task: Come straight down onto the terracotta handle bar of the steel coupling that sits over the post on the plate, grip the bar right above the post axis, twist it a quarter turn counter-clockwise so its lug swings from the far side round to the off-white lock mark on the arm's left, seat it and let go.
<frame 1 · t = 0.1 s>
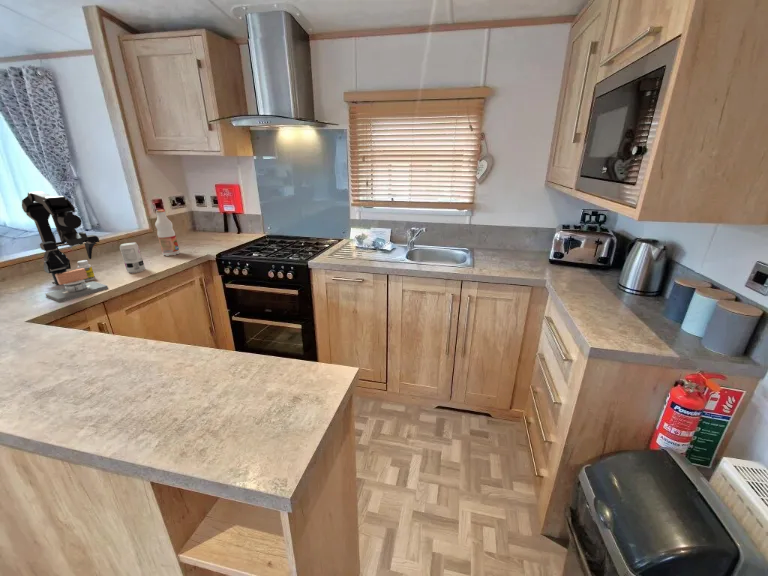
hand: (77, 261, 149), 15 cm above the worktop, tool pointing down, fingers open, 9 cm apart
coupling: (80, 290, 151), point 2 cm above the worktop, touching post plate
fruit juice: (171, 254, 215), on the worktop
post plate: (78, 292, 154), on the worktop
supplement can: (136, 271, 183), on the worktop
supplement bottle: (88, 279, 171), on the worktop
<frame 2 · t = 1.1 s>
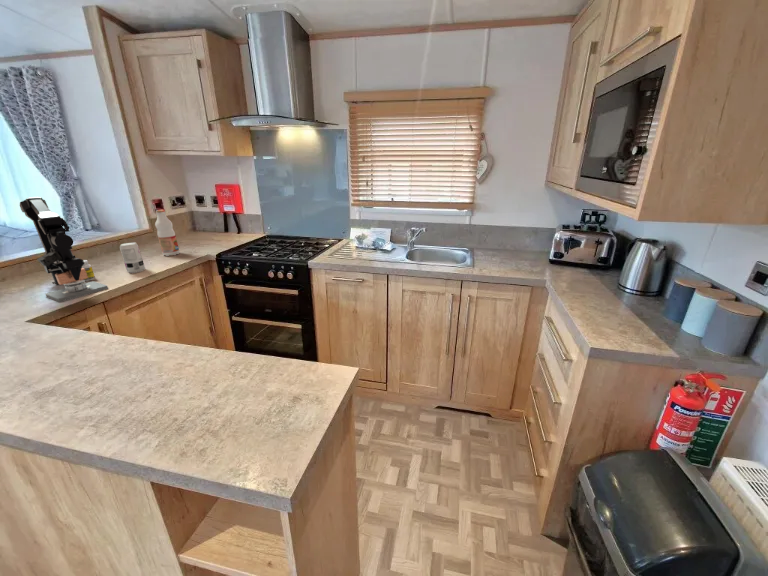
hand: (72, 278, 151), 7 cm above the worktop, tool pointing down, fingers open, 8 cm apart
nothing on the worktop moved.
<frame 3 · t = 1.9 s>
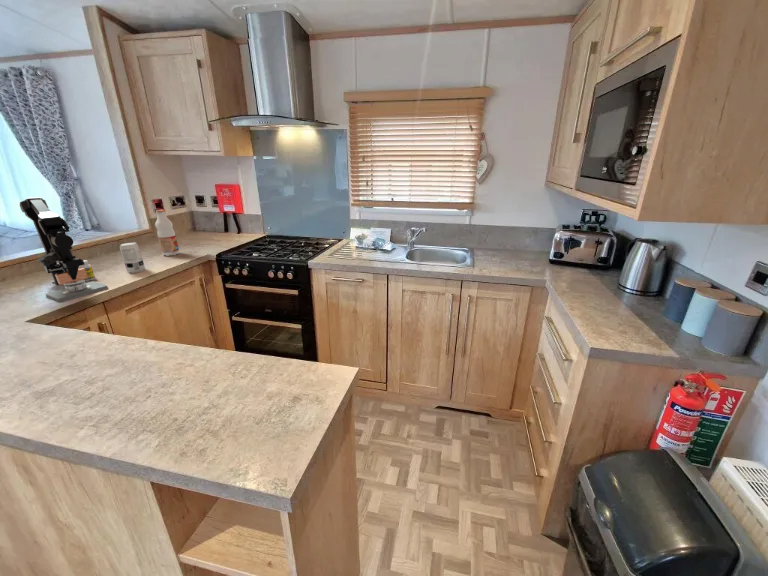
hand: (73, 279, 151), 7 cm above the worktop, tool pointing down, fingers closed on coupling, 2 cm apart
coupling: (80, 290, 151), point 2 cm above the worktop, touching gripper, post plate
everything else where it was.
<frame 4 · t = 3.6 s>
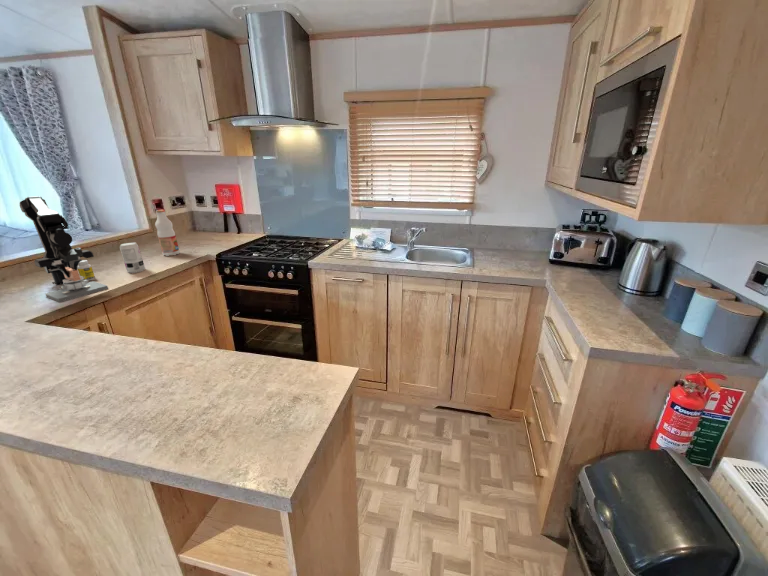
hand: (72, 276, 151), 8 cm above the worktop, tool pointing down, fingers closed on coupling, 2 cm apart
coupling: (86, 284, 156), point 3 cm above the worktop, touching gripper
everything else where it was.
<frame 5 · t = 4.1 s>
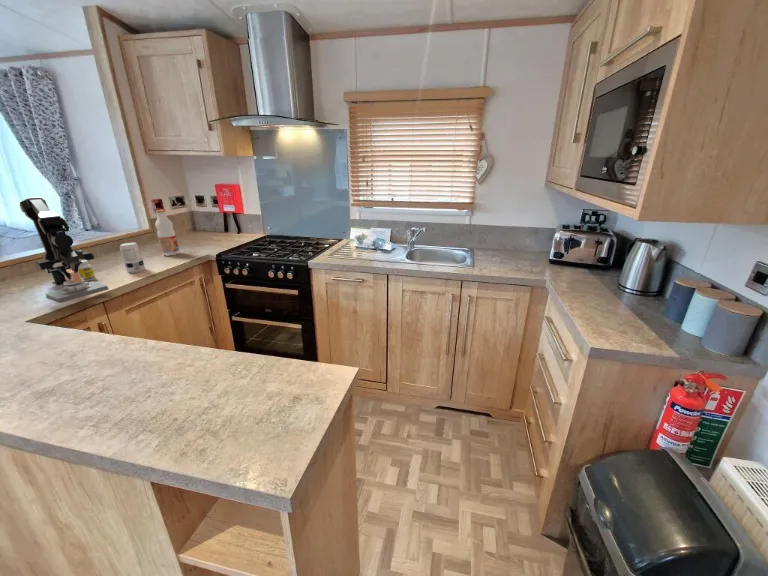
hand: (72, 278, 151), 7 cm above the worktop, tool pointing down, fingers closed on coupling, 2 cm apart
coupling: (87, 286, 156), point 2 cm above the worktop, touching gripper, post plate
everything else where it was.
when the fingers open (7 cm above the worktop, at t = 4.1 s): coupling stays where it is, resting on post plate.
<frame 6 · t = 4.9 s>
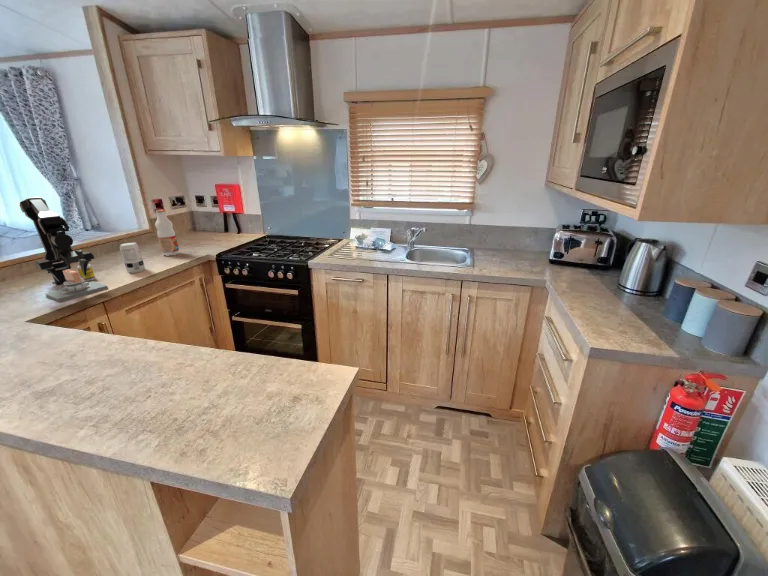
hand: (72, 278, 151), 7 cm above the worktop, tool pointing down, fingers open, 9 cm apart
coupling: (87, 286, 156), point 2 cm above the worktop, touching post plate
everything else where it was.
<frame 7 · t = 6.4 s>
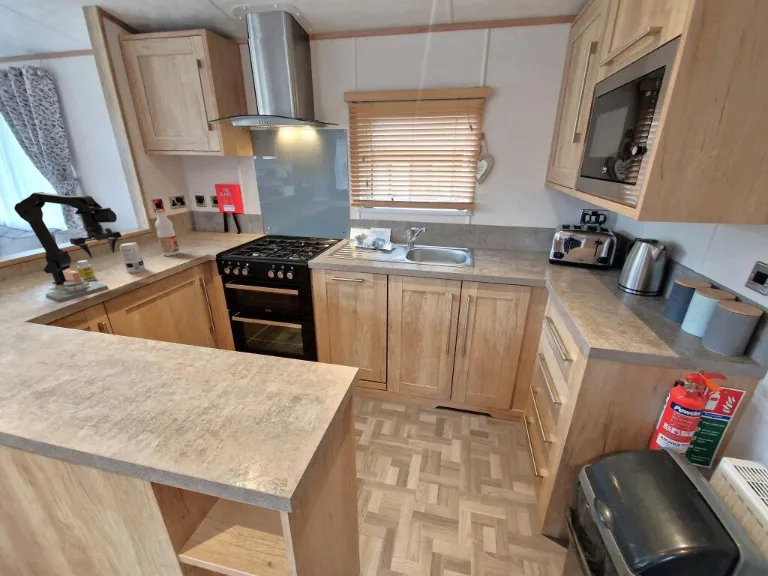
hand: (102, 255, 165), 13 cm above the worktop, tool pointing down, fingers open, 9 cm apart
nothing on the worktop moved.
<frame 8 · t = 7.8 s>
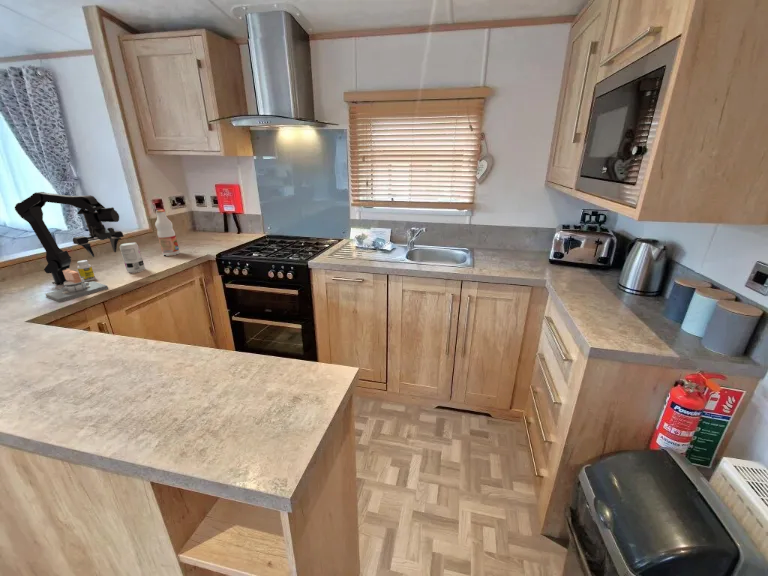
hand: (104, 254, 166), 13 cm above the worktop, tool pointing down, fingers open, 9 cm apart
nothing on the worktop moved.
at the end: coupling 0.3 cm from the target spot, point 1.7 cm above the worktop; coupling tilted 0°; the gripper is holding nothing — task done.
